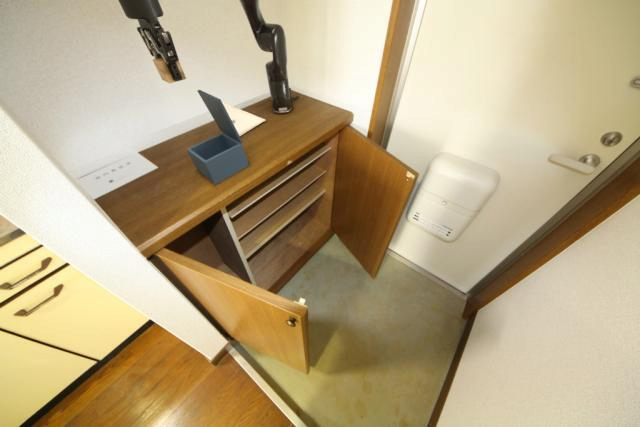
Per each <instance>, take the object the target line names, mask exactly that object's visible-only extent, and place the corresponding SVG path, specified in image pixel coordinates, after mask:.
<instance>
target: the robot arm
mask: <svg viewBox="0 0 640 427" xmlns="http://www.w3.org/2000/svg"><path fill="white" fill-rule="evenodd" d="M118 3H119V5H120V6H121V9H122V11H123V13H124V15H125V16H126V18H128V19H129V20H137V22H138V24H139V26H137V27H136V31H137V32H138V34H139V35H140V37H141V39H142V41H143V43H144V45H145V47H146V48H147V50H148V52H149V54H150V55H151V56H152V57H154V58H153V59H158V58H163V60H164V62H165V63H166V65H167V67H168V70H169V72H170V74H171V76H172V78H173V80H174V81H177V82H180V81H183V80H182V76H181V73H180V71H179V69H178V66H177V64H176V63H177V61H179V62H180V59H179V56H178V52H177V50H176V46H175V43H174V41H173V37H172V35H171V32H170V31H169V30H167V31H166V30H165V29H164V27H163V26H162V25H161V23H160V20H159V18H161V17H163V16H164V10H163V9H162V6H161V3H160V1H159V0H118ZM239 3H240V5H241V7H242V10H243V12H244V14H245V16H246V19H247V22H248V24H249V27H250V29H251V32H252V34H253V37H254V40H255V42H256V44H257V46H258V48H259V49H260V51H262V52H266V53H272V60H270V61H267V62H266V63H265V66H264V67H265V73H266V78H267V83H268V88H269V89H268V90H269V95H270V101H271V107H272V112H273V113H274V114H278V115H284V114H288V113H290V112H291V111H292V110H293V109H294V105H293V104H294V101H295V100H297V99H298V98H299V96H298V95H296V96H295V97H294V96H293V95H292V89H291V87H290V84H289V77H288V76H289V75H288V52H287V39H286V34H285V29H284V27H283V26H282V25H281V24H278V23H267V22H266V21H265V18H264V16H263V14H262V11H261V8H260V0H239ZM179 80H180V81H179Z"/></svg>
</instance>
